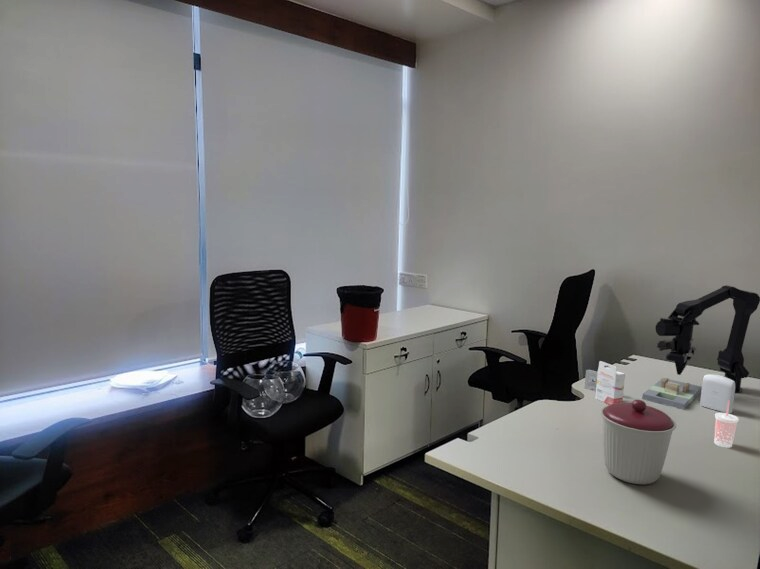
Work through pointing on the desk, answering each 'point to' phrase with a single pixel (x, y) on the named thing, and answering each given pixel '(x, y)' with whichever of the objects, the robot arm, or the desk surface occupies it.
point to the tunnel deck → (679, 400)
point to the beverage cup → (725, 428)
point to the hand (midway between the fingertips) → (678, 374)
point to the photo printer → (717, 393)
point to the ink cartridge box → (609, 384)
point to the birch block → (672, 388)
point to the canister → (635, 441)
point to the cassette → (591, 380)
